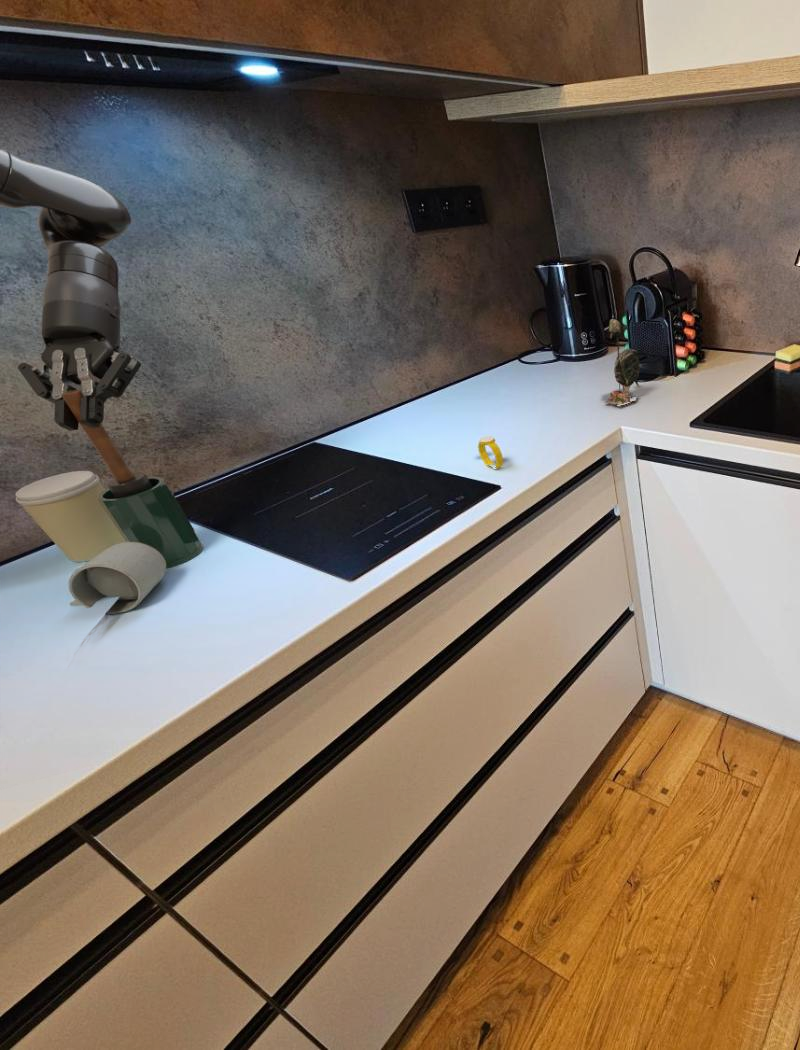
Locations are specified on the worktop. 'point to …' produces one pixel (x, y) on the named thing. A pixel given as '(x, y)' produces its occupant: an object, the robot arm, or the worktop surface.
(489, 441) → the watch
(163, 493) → the green patterned cylindrical cup
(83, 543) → the coffee cup
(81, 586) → the ceramic mug
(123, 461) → the mallet
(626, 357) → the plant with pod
